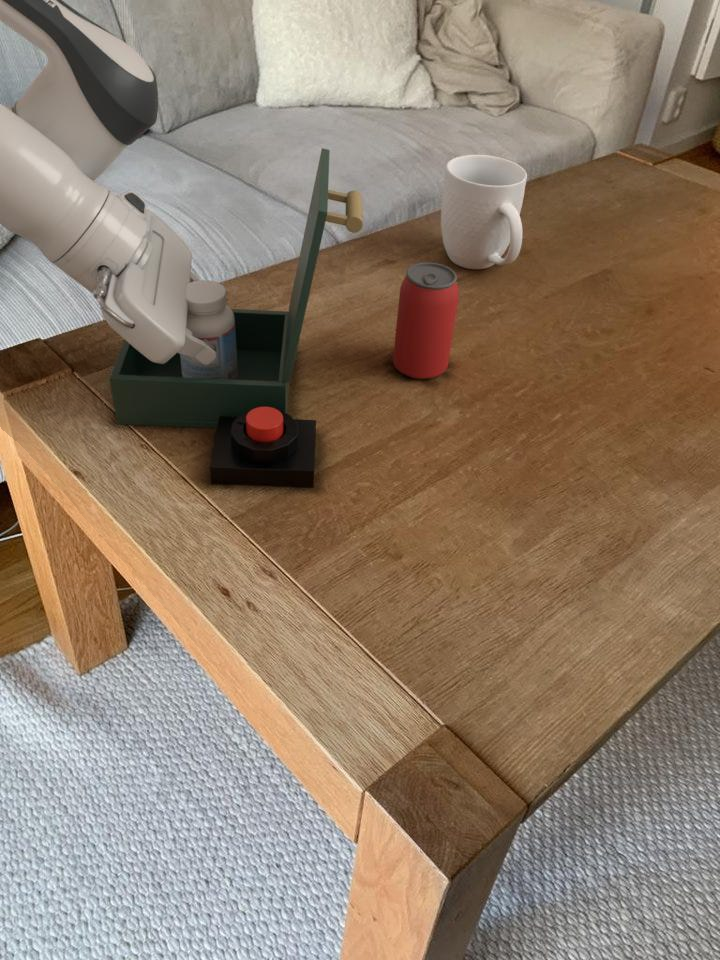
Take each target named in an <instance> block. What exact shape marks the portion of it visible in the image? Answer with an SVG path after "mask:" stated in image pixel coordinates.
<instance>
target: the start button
mask: <svg viewBox="0 0 720 960" xmlns="http://www.w3.org/2000/svg"><path fill="white" fill-rule="evenodd" d="M246 432H247V435H248V437H249V438H250V439H252V440H255V441H257V442H271V441H274V440H278V439H279V438H280V437H281V436H282V434H283V415H282V414H281V412H280V411H278V410H277V409H275V408H272V407H258V408H255V409H252V410H251V411H249V412H248V414H247V416H246Z"/></svg>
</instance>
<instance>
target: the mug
mask: <svg viewBox="0 0 720 960" xmlns="http://www.w3.org/2000/svg"><path fill="white" fill-rule="evenodd" d="M527 179H528V173H527V171H526V170H525V169H524V168H523V167H522V166H521V165H520V164H518V163H516V162H514V161H511V160H509V159H506V158H502V157H499V156H495V155H488V154H466V155H460V156H457V157H454V158H452V159H450V160H449V161H448V162H447V163H446V166H445V173H444V180H443V186H442V195H441V201H440V202H441V204H440V207H441V208H440V229H441V238H442V243H443V246H444V249H445V252H446V254H447V257H448V258H449V260H450V261H451V262H452V263H453V264H454V265H456V266H458V267H461V268H464V269H468V270H485V269H488V268H490V267H492V266H494V265H498V266H507V265H510V264H512V263H513V262H515V261H516V260H517V258H518V256H519V255H520V252H521V249H522V244H523V224H522V219H521V216H520V214H521V211H522V207H523V203H524V202H523V201H524V197H525V191H526V186H527ZM507 249H508V251H507V253H506V255H505V257H504V258H503V255H504V254H505V252H506V250H507Z"/></svg>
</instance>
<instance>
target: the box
mask: <svg viewBox="0 0 720 960" xmlns="http://www.w3.org/2000/svg"><path fill="white" fill-rule="evenodd" d="M230 309H231V310H232V311H233V314H234V318H235V332H236V350H237V367H238V380H231V379H207V378H183V377H182V368H181V358H180V354H179V353H176V354H175V355H174V356H173V357H172V358H171V359H169V360H168V361H167V362H166V363H164V364H159V363H154V362H152V361H150V360H149V359H147V358H146V357H145V356H144V355H142V354H141V353H140V352H139V351H138V350H136V349H135V348H134V347H133V346H132V345H130V344H129V343H128V342H127V341H126V340H125V339H124V338H123V342H122V344H121V347H120V350H119V352H118V355H117V357H116V360H115V363H114V366H113V369H112V372H111V374H110V376H109V385H110V389H111V391H110V392H111V396H112V401H113V408H114V413H115V418H116V419H115V420H116V424H117V425H124V426H125V425H129V426H153V427H176V428H177V427H179V428H201V429H202V428H203V429H204V428H205V429H217V426H218V420H219V416H226V417H239V416H240V415H241V414H242V413H245V412H248V411H251V410H252V409H255V408H258V407H272V408H275V409H277V410H279V411H282V412H284V413H287V414H288V409H289V408H288V407H289V397H290V396H289V395H290V385H291V382H290V383H287V382H282V375H283V365H284V355H285V344H286V334H287V324H288V313H289V310H287V311H286V310H265V309H264V310H263V309H243V308H242V309H241V308H230Z"/></svg>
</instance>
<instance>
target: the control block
mask: <svg viewBox="0 0 720 960" xmlns="http://www.w3.org/2000/svg"><path fill="white" fill-rule="evenodd" d="M278 411H279V410H278ZM248 412H249V411H248ZM248 412H245V413H242V414H241V415H240V416H239V417H226V416H219V420H218V426H217V428H216V431H215V437H214V442H213V447H212V453H211V459H210V463H209V464H210V465H209V474H210V484H211V485H235V486H258V487H259V486H261V487H263V486H264V487H286V488H287V487H289V488H290V487H291V488H314V487H315V466H316V465H315V464H316V444H317V443H316V441H317V440H316V439H317V420H316V419H299V418H293V416H292V415H290V414H289V413H288V412H287V413H284V412H282V411H280V412H281V414H282V415H283V434H282V436H281V437H280V438H279V439H278V440H274V441H271V442H257V441H255V440H252V439H250V438H249V437H248V435H247V432H246V416H247V414H248Z"/></svg>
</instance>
